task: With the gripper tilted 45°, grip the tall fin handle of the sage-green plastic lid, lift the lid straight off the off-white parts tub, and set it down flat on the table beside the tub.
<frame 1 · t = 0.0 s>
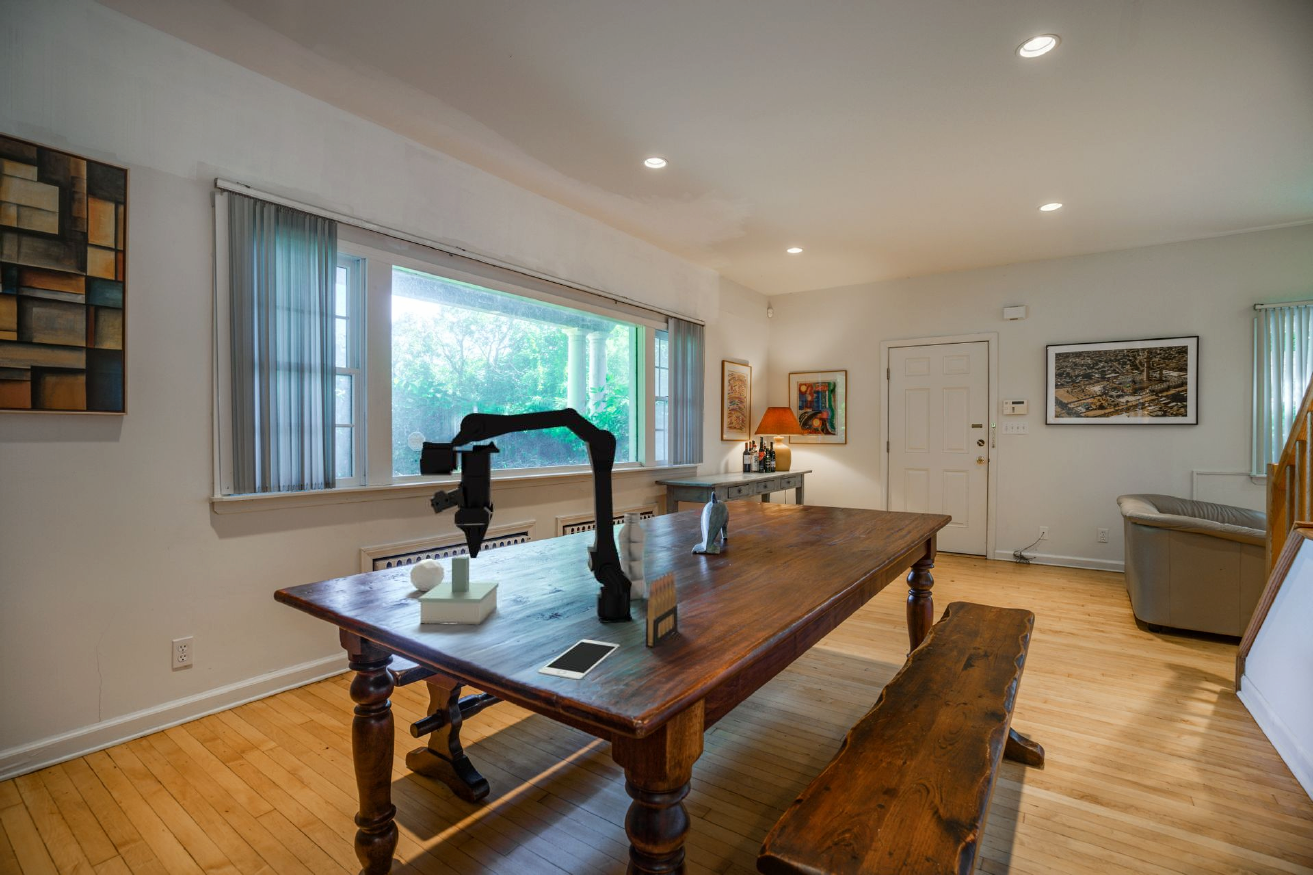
hand: (475, 553, 118), 15 cm above the table, tool pointing down, fingers open, 9 cm apart
ammunition clip: (662, 639, 112), on the table
lid: (460, 598, 125), point 3 cm above the table, touching tub
plastic bottle: (631, 599, 138), on the table
cell phone: (581, 661, 102), on the table
geometric ball: (427, 591, 144), on the table
tub: (460, 615, 125), on the table
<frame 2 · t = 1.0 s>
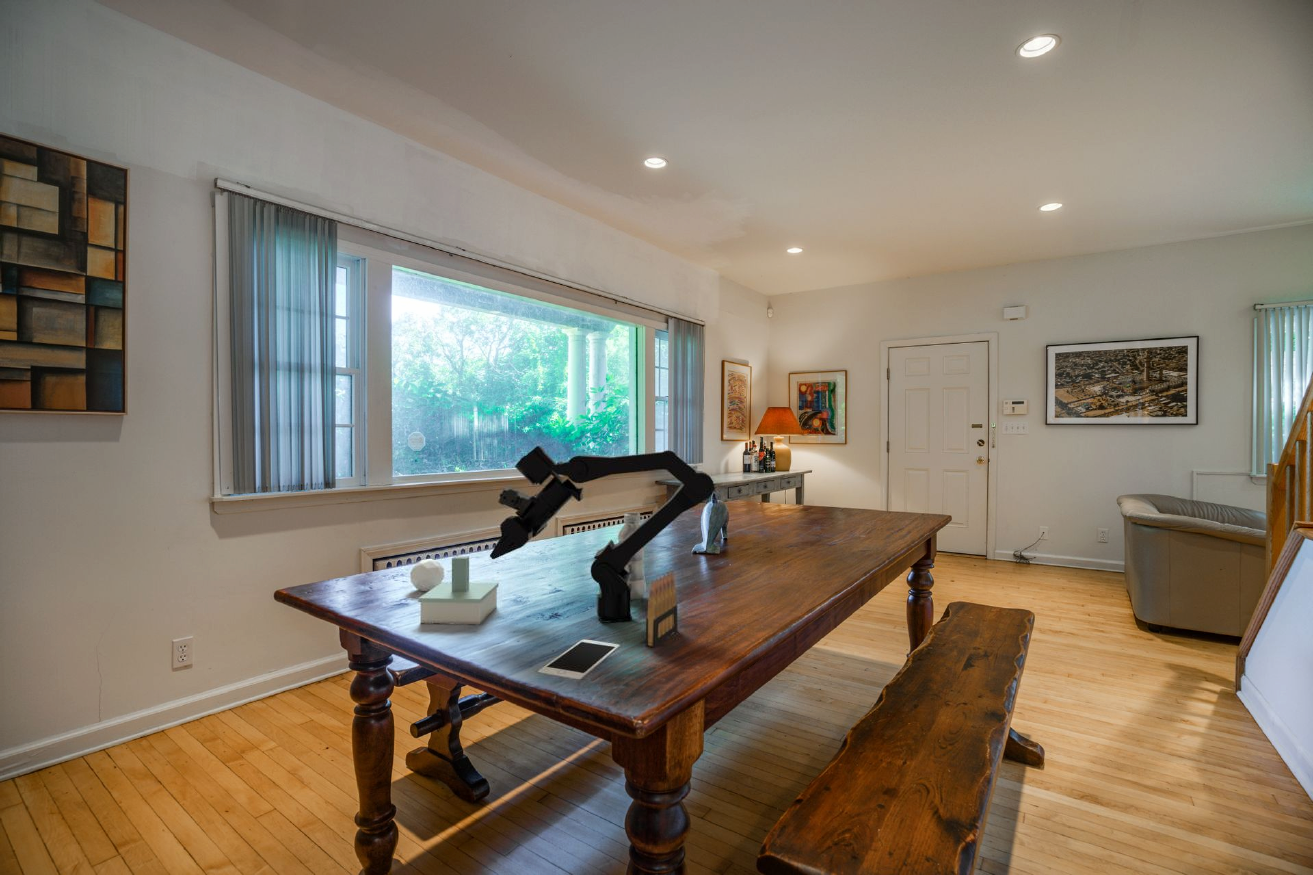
hand: (497, 553, 125), 13 cm above the table, tool tilted 45°, fingers open, 9 cm apart
nothing on the table moved.
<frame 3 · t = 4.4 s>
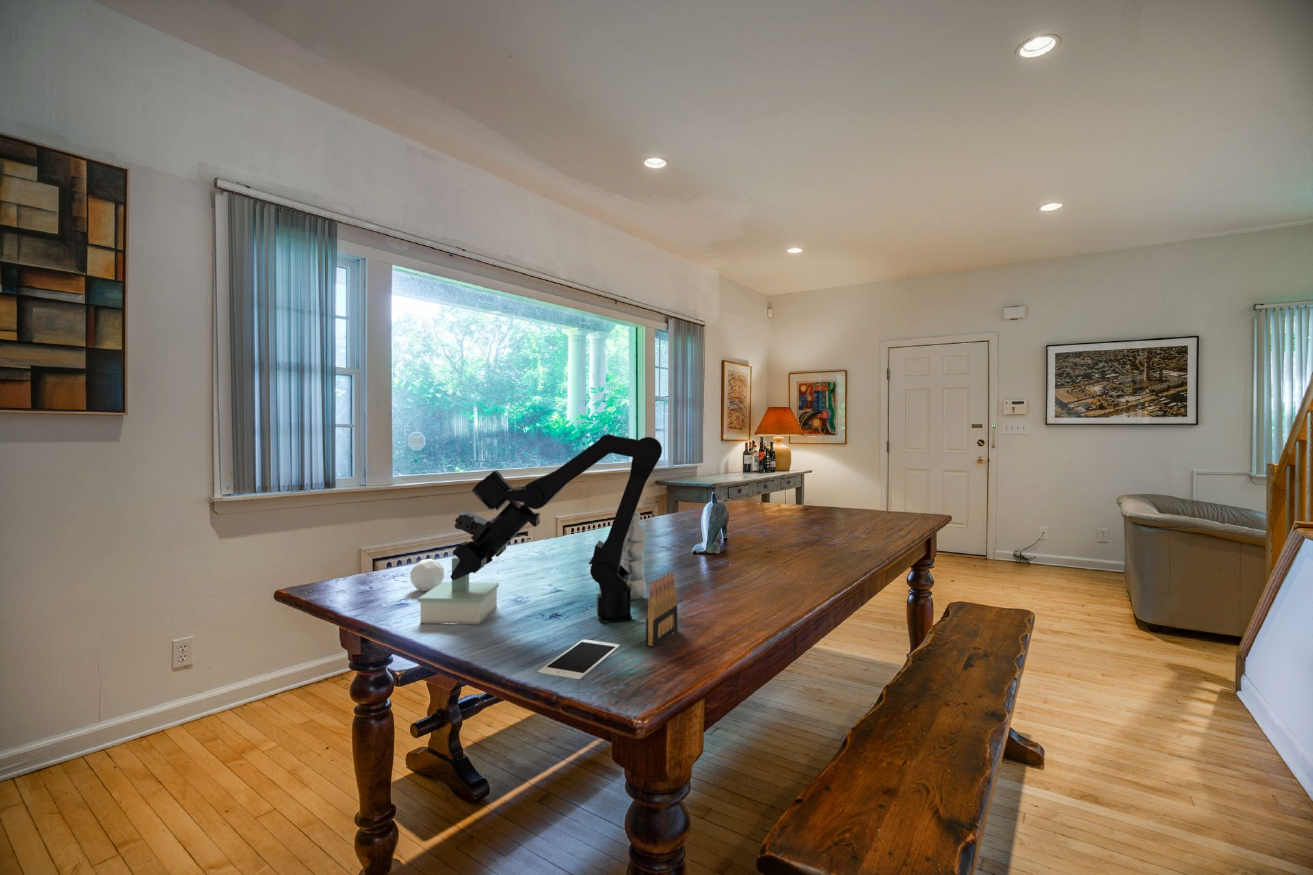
hand: (454, 577, 125), 8 cm above the table, tool tilted 45°, fingers closed on lid
lid: (460, 598, 125), point 3 cm above the table, touching gripper, tub
everything else where it was.
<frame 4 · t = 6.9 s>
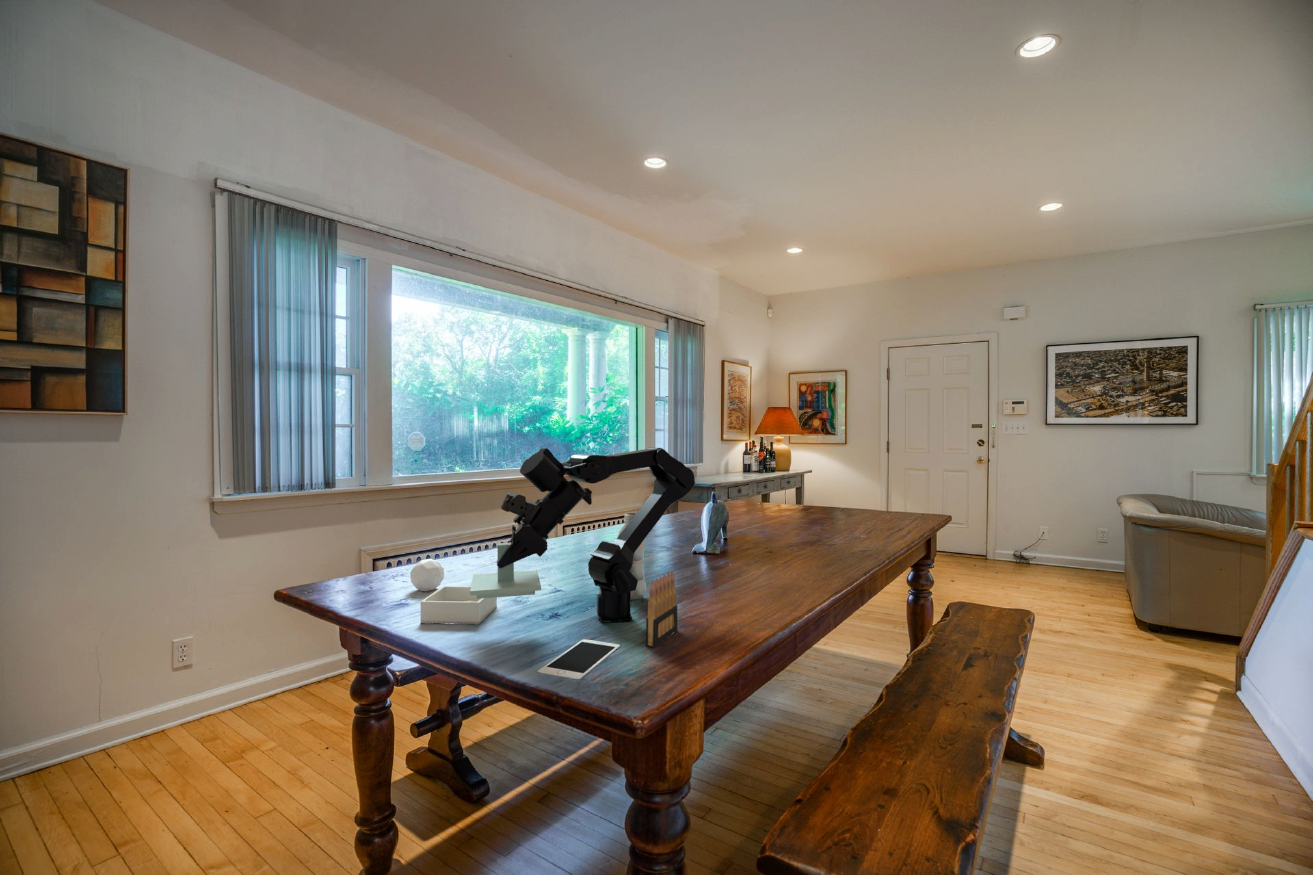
hand: (498, 565, 113), 13 cm above the table, tool tilted 45°, fingers closed on lid
lid: (505, 589, 114), point 9 cm above the table, touching gripper
everything else where it was.
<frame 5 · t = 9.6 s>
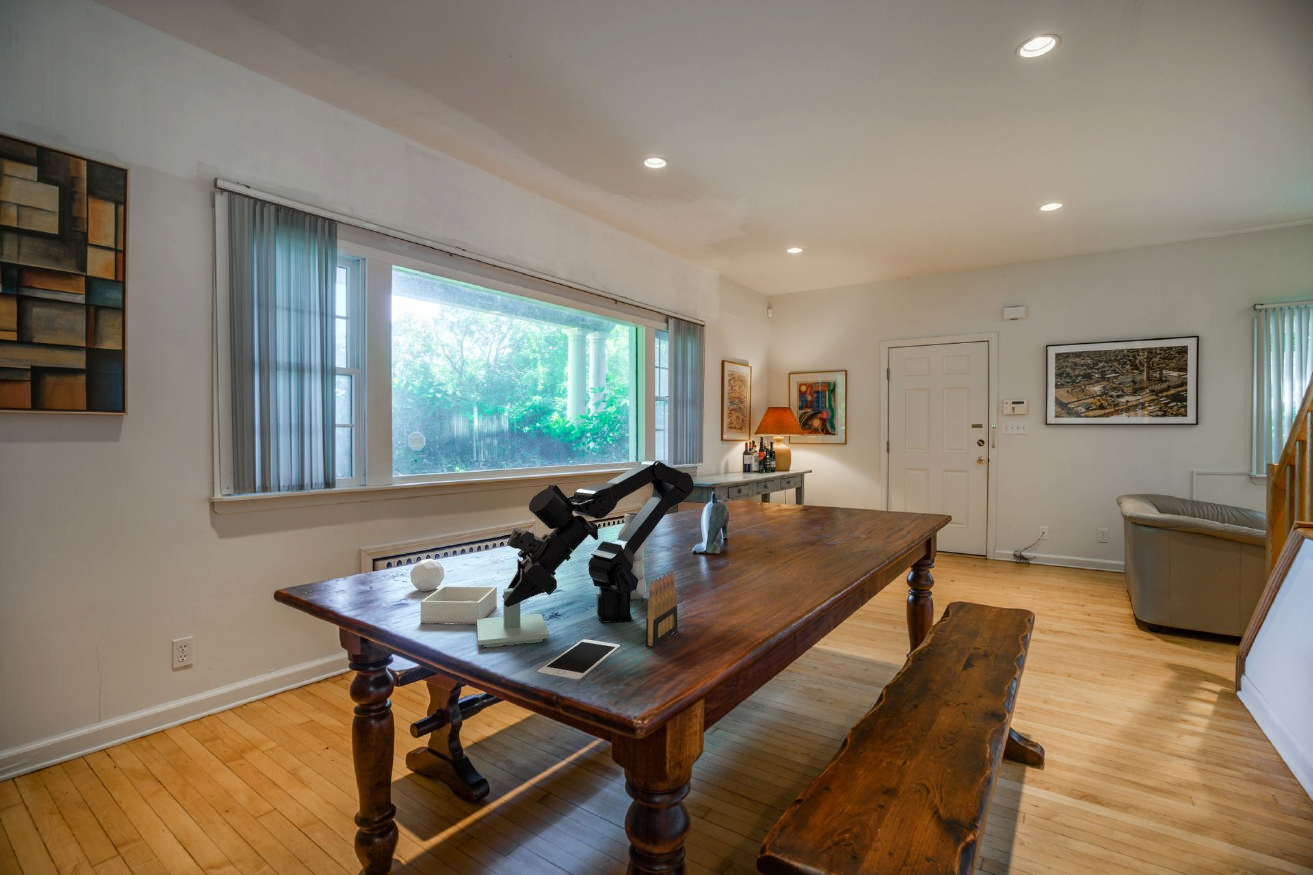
hand: (504, 602, 112), 7 cm above the table, tool tilted 45°, fingers open, 4 cm apart
lid: (511, 635, 113), on the table
everything else where it was.
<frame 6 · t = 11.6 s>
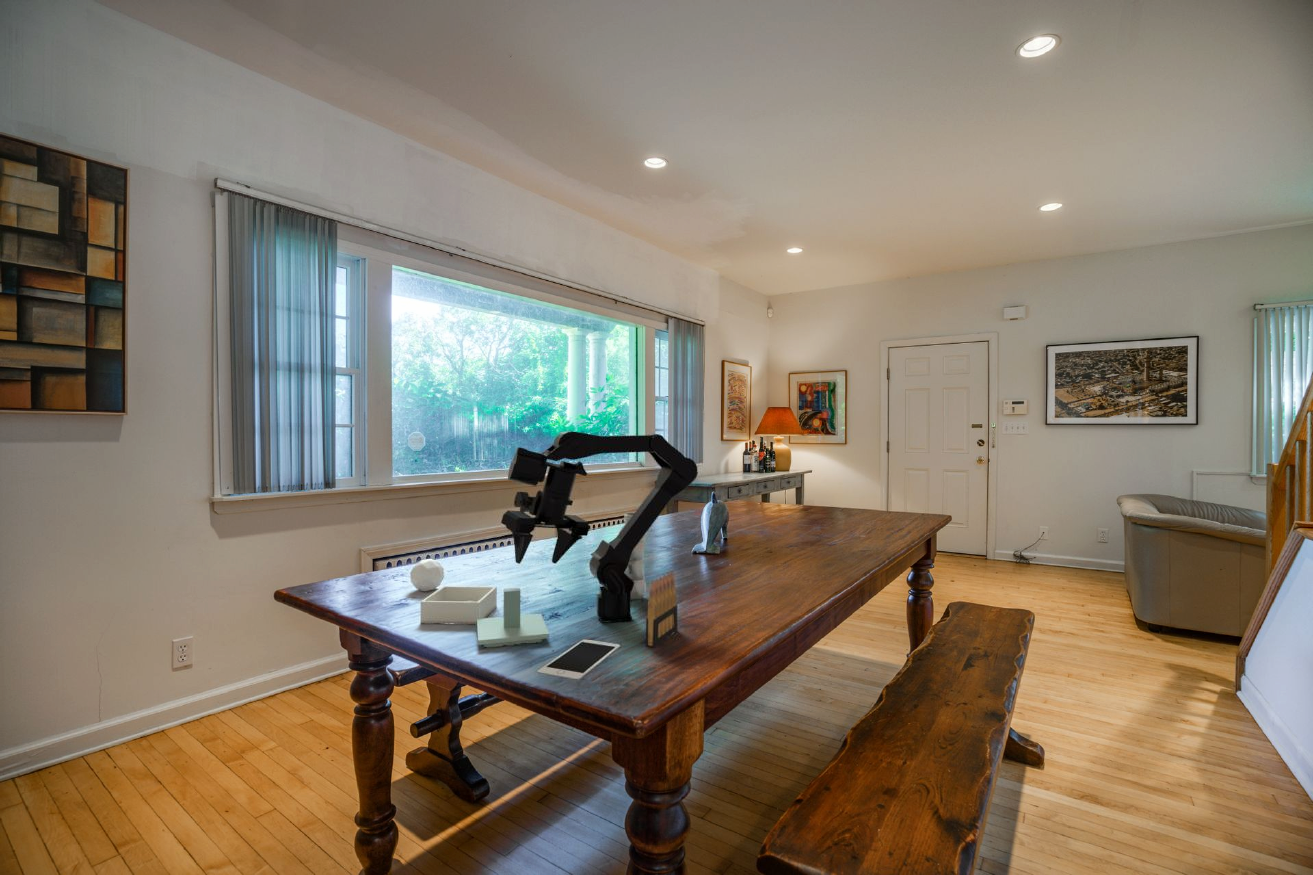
hand: (536, 562, 121), 12 cm above the table, tool tilted 15°, fingers open, 9 cm apart
nothing on the table moved.
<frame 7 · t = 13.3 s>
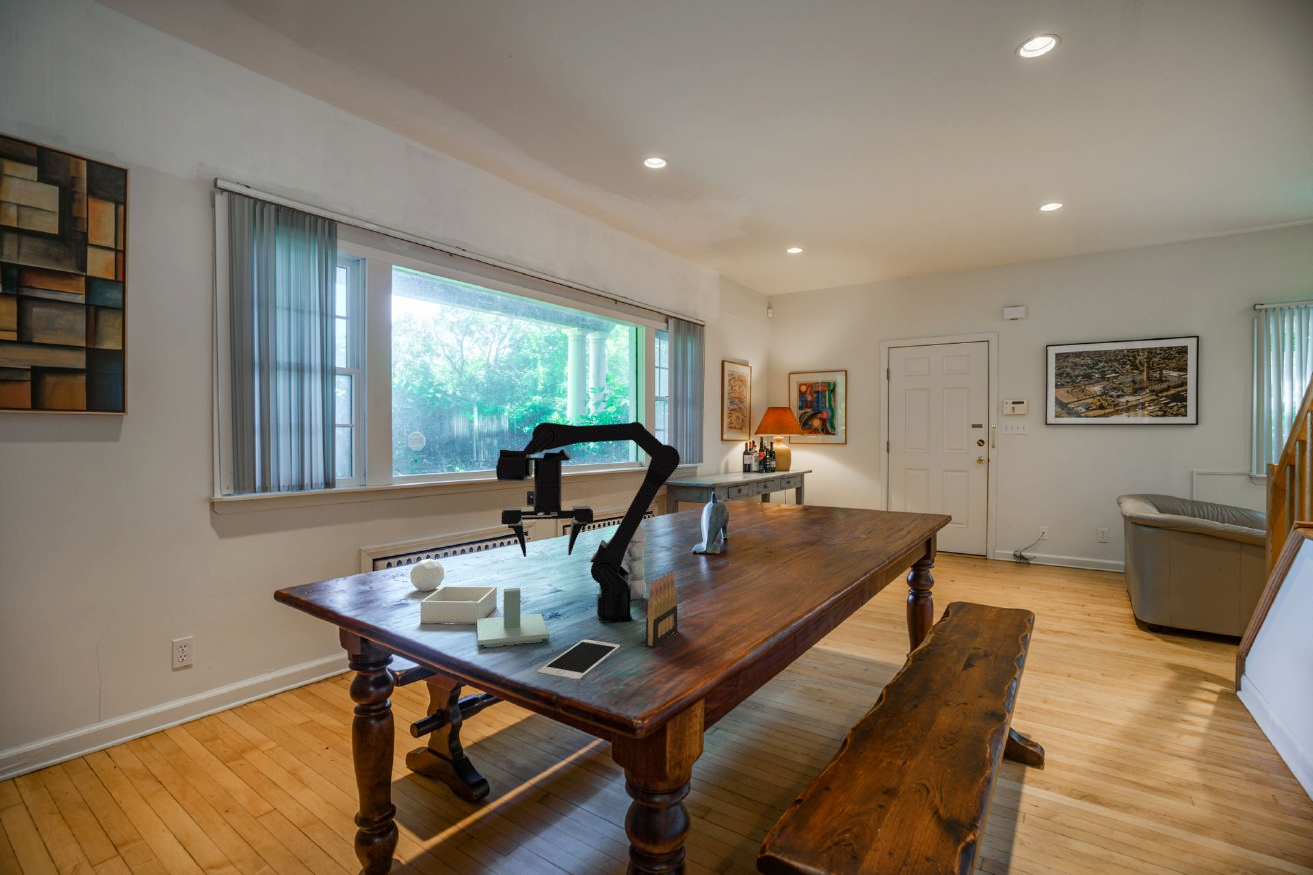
hand: (547, 555, 124), 13 cm above the table, tool pointing down, fingers open, 9 cm apart
nothing on the table moved.
at the end: lid inside the target area (0.0 cm from its centre), on the table; lid tilted 0°; lid touching table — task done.
